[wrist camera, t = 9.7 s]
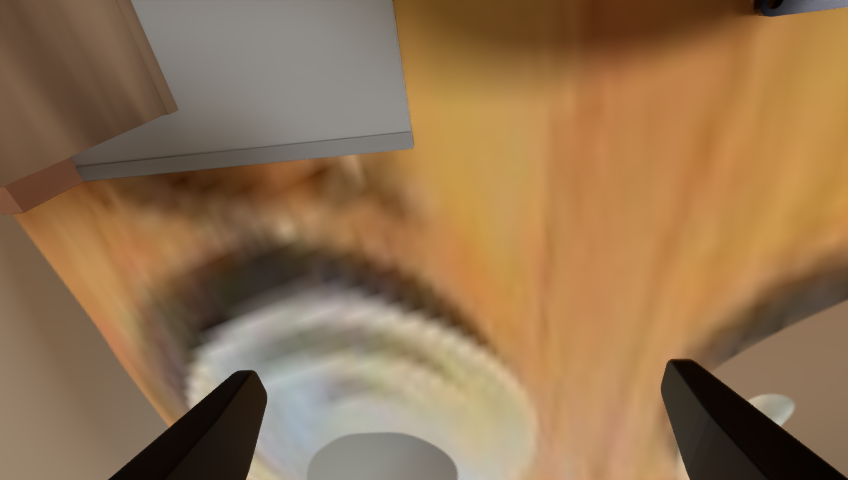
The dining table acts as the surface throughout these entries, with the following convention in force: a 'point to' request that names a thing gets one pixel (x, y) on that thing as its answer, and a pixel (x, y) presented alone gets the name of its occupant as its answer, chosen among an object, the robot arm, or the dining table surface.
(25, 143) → the brown wooden block
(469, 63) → the dining table surface
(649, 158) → the dining table surface
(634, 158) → the dining table surface
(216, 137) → the bay
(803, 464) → the robot arm
